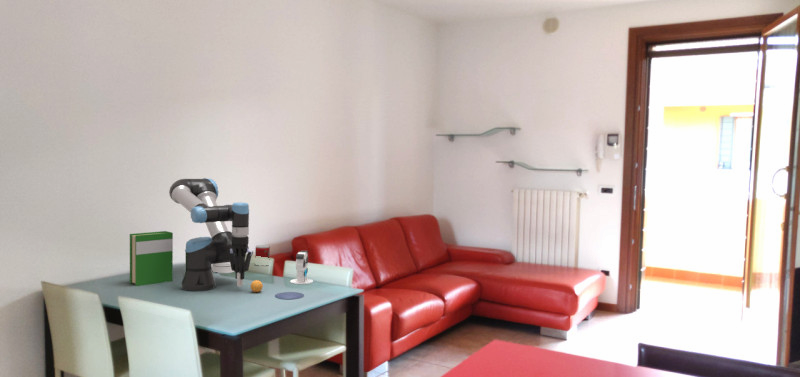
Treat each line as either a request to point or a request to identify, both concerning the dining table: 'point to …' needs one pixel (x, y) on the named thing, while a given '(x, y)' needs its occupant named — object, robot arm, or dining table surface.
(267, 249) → the canned food
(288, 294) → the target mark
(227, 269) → the honey pot
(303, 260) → the white stand device
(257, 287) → the ball
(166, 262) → the hardback book
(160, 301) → the dining table surface
